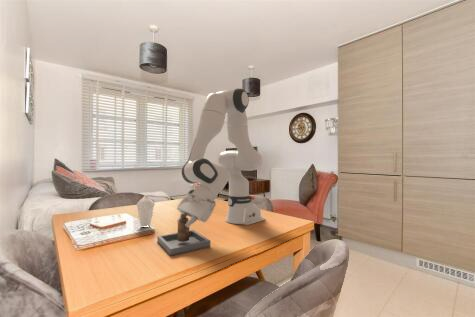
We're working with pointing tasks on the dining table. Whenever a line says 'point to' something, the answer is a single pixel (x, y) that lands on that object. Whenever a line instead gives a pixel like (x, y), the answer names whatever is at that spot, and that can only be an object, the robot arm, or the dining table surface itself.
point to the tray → (182, 243)
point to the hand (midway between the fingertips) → (182, 224)
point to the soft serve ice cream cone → (145, 210)
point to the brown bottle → (183, 229)
